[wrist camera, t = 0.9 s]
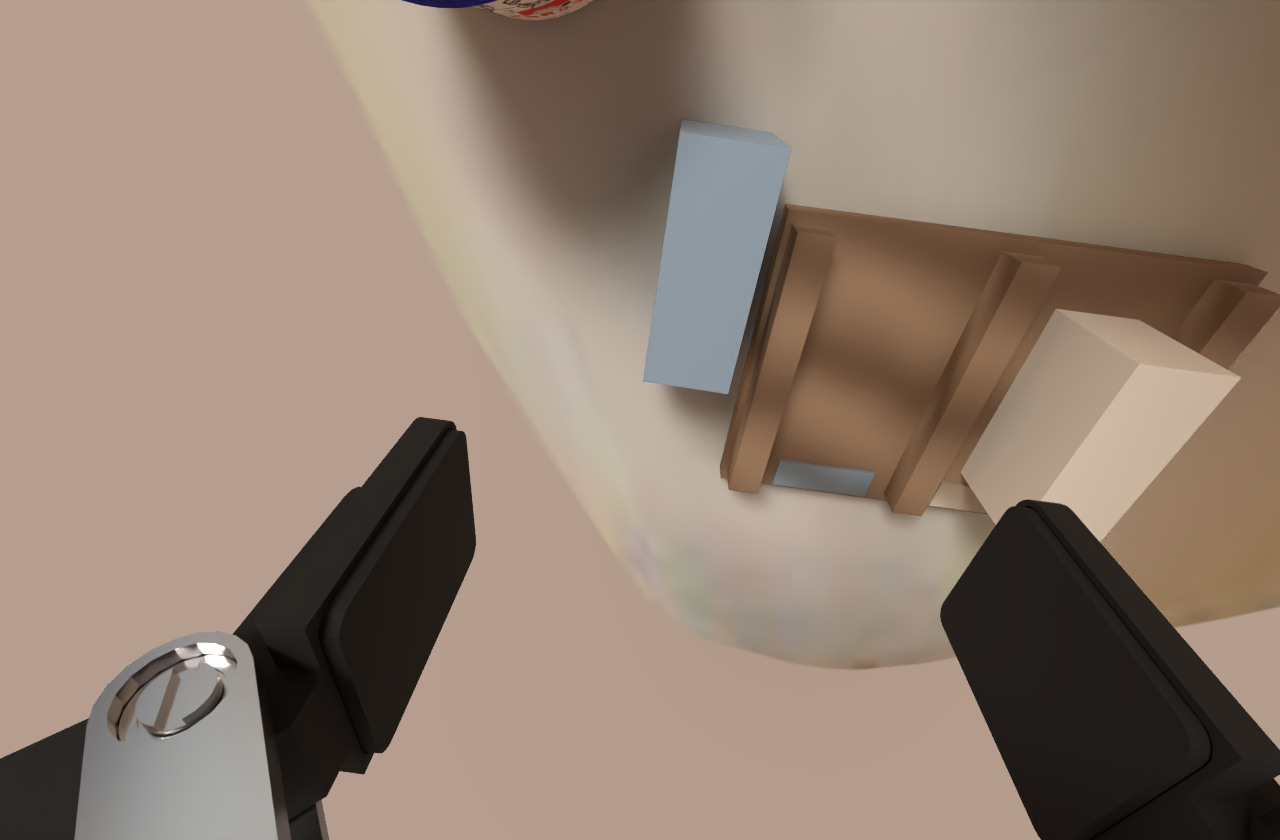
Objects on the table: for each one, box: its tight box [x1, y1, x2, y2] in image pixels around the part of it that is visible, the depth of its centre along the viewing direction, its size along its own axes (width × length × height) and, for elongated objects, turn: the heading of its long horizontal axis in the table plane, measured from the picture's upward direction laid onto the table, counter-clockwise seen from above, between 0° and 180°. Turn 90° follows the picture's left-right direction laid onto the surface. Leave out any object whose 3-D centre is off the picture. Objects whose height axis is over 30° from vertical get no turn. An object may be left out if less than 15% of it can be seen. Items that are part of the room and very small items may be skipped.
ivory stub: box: [961, 309, 1241, 542], centre depth 23 cm, size 9×4×5 cm, turn 174°
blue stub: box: [643, 119, 791, 394], centre depth 21 cm, size 9×4×5 cm, turn 173°
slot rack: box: [720, 204, 1280, 516], centre depth 25 cm, size 14×19×2 cm
